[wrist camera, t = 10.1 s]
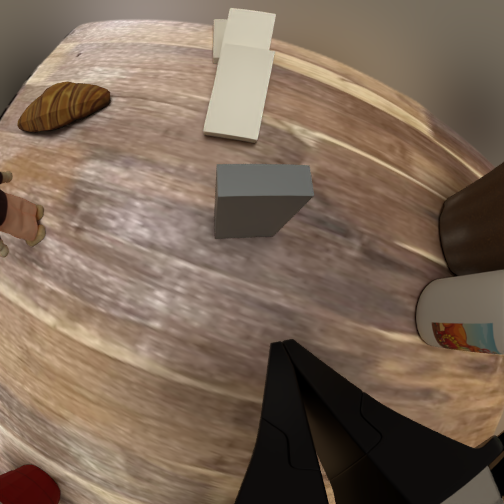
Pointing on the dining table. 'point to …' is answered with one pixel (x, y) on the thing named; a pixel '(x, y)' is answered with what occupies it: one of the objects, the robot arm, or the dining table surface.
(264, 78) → the domino
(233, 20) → the domino
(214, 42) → the domino
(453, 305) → the milk bottle
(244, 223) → the end domino
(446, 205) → the plant pot
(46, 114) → the croissant
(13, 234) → the grandmother figurine
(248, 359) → the dining table surface
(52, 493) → the plastic cup
